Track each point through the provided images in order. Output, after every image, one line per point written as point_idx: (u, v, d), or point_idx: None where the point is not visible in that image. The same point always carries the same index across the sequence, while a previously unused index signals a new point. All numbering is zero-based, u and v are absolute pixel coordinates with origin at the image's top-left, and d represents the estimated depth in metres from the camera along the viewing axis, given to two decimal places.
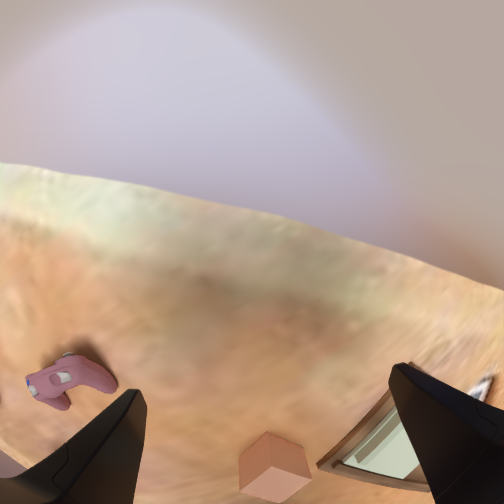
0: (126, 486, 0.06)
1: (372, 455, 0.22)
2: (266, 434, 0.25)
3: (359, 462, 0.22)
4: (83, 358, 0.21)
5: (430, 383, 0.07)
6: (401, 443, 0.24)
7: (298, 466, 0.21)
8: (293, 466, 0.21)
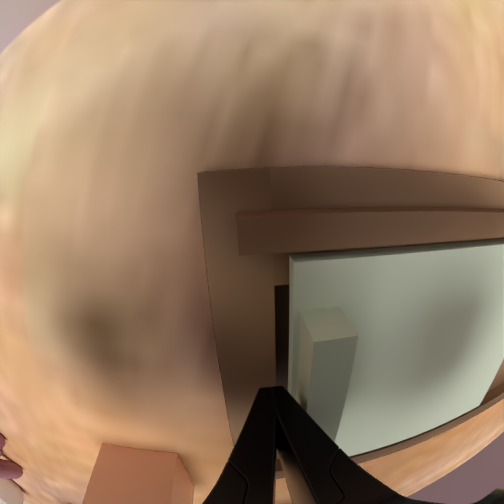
0: None
1: None
2: (102, 448, 0.12)
3: None
4: None
5: (294, 416, 0.07)
6: (413, 382, 0.10)
7: None
8: None
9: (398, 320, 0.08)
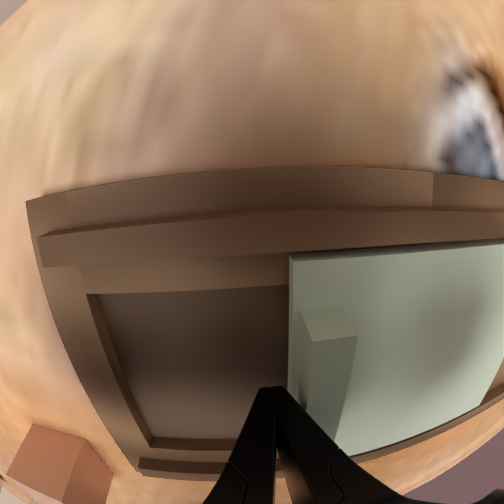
0: None
1: None
2: (32, 427, 0.12)
3: None
4: None
5: (294, 416, 0.07)
6: (412, 382, 0.10)
7: (49, 476, 0.09)
8: (39, 476, 0.08)
9: (397, 320, 0.08)
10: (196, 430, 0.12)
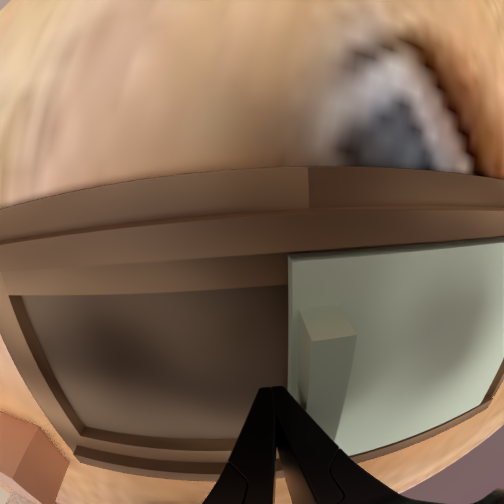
0: None
1: None
2: None
3: None
4: None
5: (294, 416, 0.07)
6: (413, 381, 0.10)
7: (6, 456, 0.09)
8: None
9: (397, 319, 0.08)
10: (116, 424, 0.12)
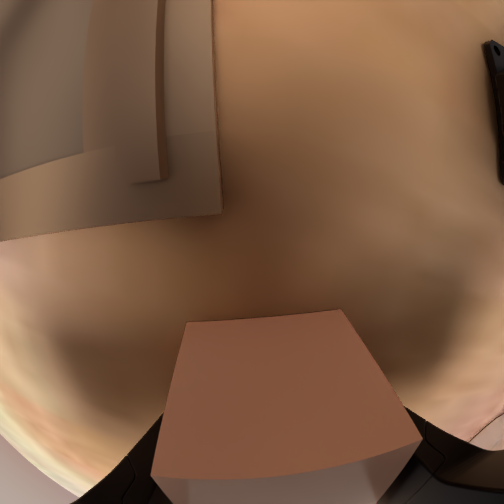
0: None
1: None
2: None
3: None
4: None
5: None
6: None
7: None
8: None
9: None
10: (74, 79, 0.06)
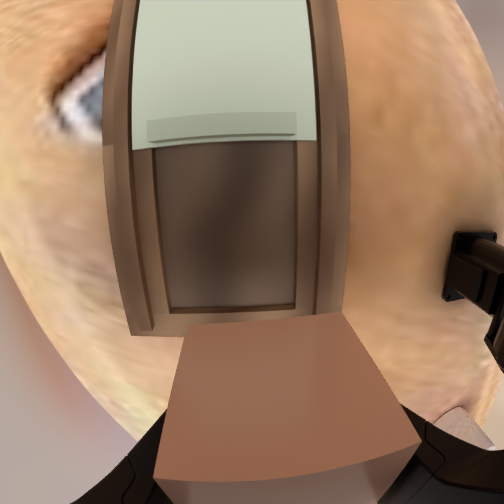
0: None
1: (265, 121, 0.14)
2: None
3: (293, 133, 0.14)
4: None
5: None
6: (226, 57, 0.14)
7: None
8: None
9: (169, 87, 0.14)
10: (283, 271, 0.20)
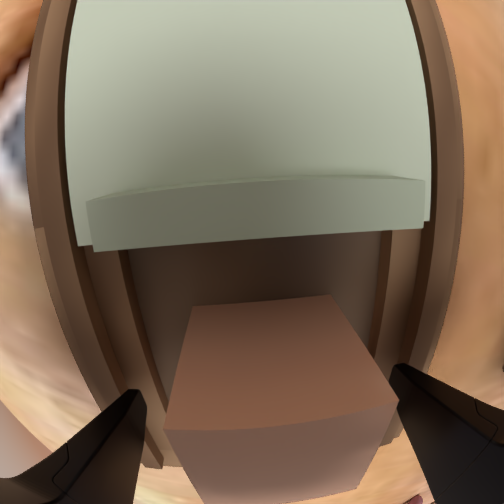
0: (126, 486, 0.06)
1: (369, 204, 0.06)
2: None
3: None
4: None
5: (430, 383, 0.07)
6: (261, 38, 0.06)
7: None
8: None
9: (136, 106, 0.06)
10: None
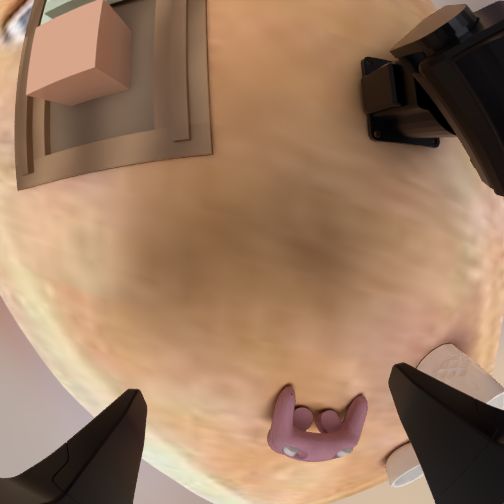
0: (126, 486, 0.06)
1: None
2: (68, 104, 0.15)
3: None
4: (269, 434, 0.22)
5: (430, 383, 0.07)
6: None
7: None
8: None
9: None
10: (145, 97, 0.16)
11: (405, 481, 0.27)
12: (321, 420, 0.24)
